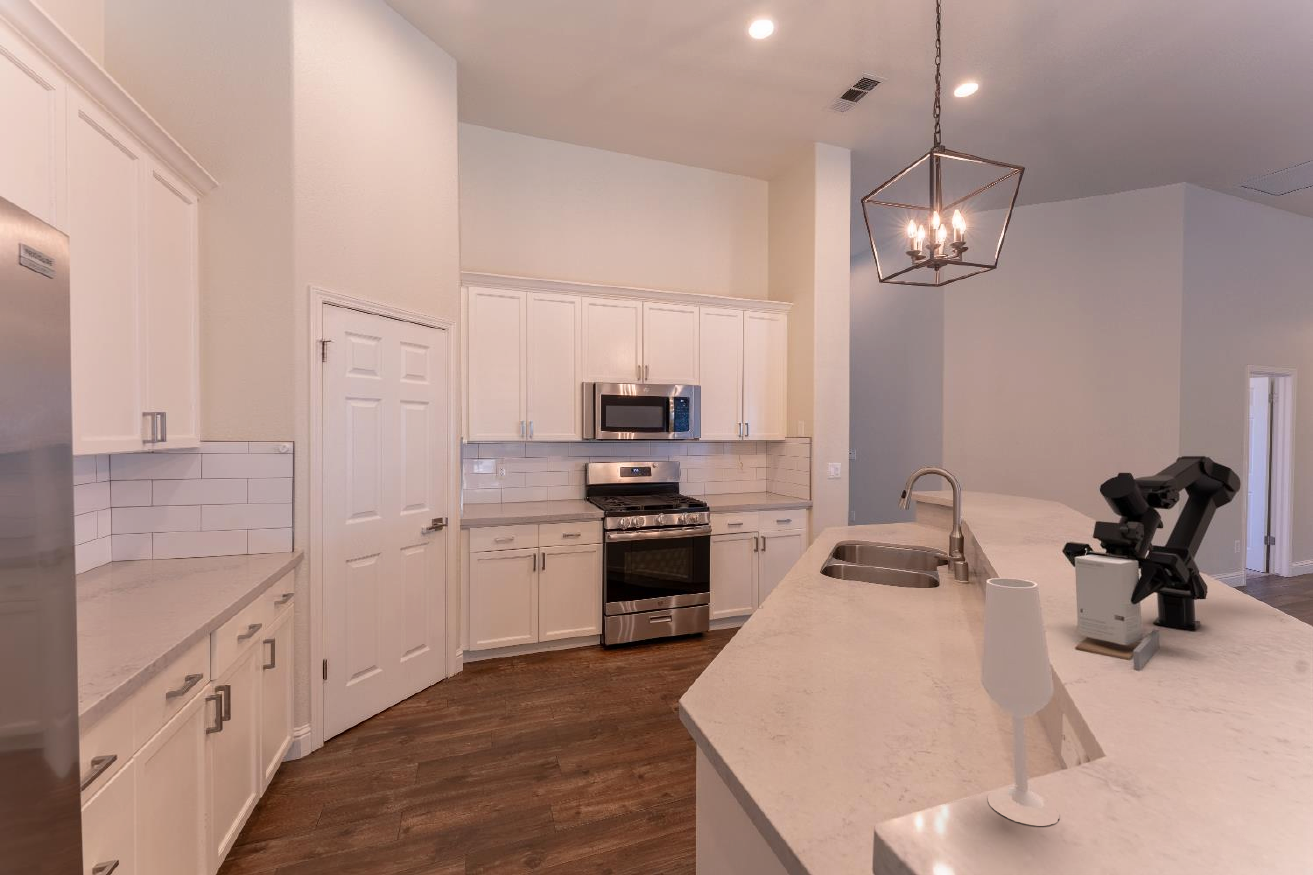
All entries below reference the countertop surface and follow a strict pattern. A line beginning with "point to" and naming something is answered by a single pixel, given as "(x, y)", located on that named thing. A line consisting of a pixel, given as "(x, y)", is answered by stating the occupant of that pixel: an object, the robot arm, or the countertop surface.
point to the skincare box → (1107, 599)
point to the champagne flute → (1016, 665)
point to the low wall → (1146, 649)
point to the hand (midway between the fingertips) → (1106, 597)
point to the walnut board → (1107, 648)
